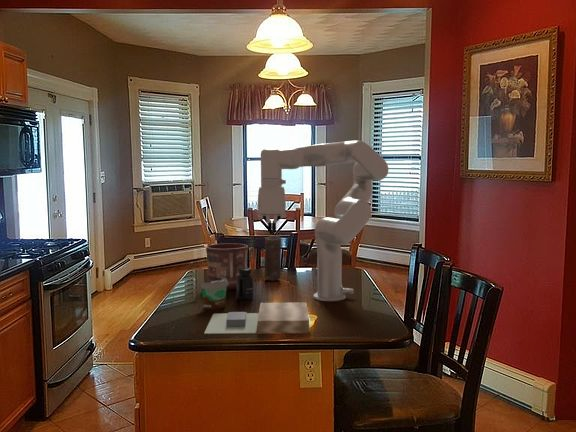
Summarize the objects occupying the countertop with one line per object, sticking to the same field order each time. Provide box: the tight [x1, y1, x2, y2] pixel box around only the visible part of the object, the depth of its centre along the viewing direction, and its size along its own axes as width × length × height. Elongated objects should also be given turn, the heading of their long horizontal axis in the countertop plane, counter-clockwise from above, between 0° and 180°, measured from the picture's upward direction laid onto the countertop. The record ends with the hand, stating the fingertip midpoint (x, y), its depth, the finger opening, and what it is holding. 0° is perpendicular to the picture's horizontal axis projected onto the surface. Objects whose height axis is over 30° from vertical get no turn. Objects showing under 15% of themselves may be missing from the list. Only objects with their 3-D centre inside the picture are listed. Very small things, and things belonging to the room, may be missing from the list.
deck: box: [257, 301, 310, 335], centre depth 174 cm, size 16×22×4 cm
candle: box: [263, 235, 282, 282], centre depth 239 cm, size 8×7×20 cm
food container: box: [200, 277, 228, 310], centre depth 195 cm, size 12×6×10 cm, turn 148°
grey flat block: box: [226, 311, 247, 327], centre depth 174 cm, size 6×9×2 cm, turn 2°
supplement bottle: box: [235, 267, 255, 301], centre depth 207 cm, size 7×7×12 cm
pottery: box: [205, 242, 249, 291], centre depth 227 cm, size 18×18×18 cm
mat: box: [203, 312, 259, 335], centre depth 175 cm, size 16×22×1 cm
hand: (271, 233), depth 193 cm, fingers closed
